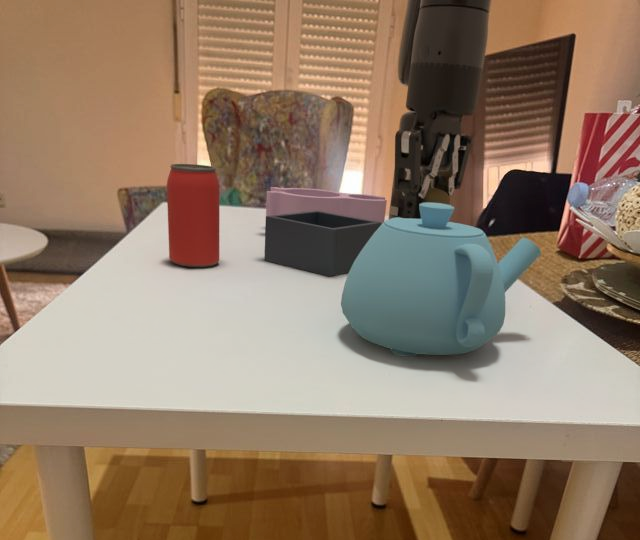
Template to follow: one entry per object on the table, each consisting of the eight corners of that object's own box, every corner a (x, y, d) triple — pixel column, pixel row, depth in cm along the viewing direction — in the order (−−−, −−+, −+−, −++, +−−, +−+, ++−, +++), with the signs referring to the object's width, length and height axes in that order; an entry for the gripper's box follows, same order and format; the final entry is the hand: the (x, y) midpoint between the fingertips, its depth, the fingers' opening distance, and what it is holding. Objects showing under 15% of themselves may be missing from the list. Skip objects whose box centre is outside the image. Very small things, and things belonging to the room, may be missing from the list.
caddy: (314, 251, 96) (317, 210, 94) (377, 265, 91) (382, 222, 88) (264, 260, 88) (265, 216, 85) (330, 276, 82) (333, 229, 79)
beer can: (193, 270, 79) (191, 169, 74) (158, 261, 83) (154, 163, 77) (229, 264, 84) (230, 168, 79) (196, 255, 88) (194, 163, 82)
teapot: (308, 312, 66) (317, 186, 61) (468, 307, 73) (489, 193, 68) (391, 384, 50) (414, 221, 44) (587, 368, 57) (627, 225, 51)
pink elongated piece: (379, 234, 115) (383, 194, 112) (383, 247, 104) (388, 203, 100) (270, 225, 115) (272, 185, 111) (263, 237, 103) (264, 193, 100)
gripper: (448, 55, 58) (421, 241, 66) (507, 70, 69) (478, 229, 76) (380, 54, 62) (362, 230, 70) (445, 68, 73) (424, 220, 80)
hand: (423, 229), depth 73 cm, fingers closed on cork, 5 cm apart
